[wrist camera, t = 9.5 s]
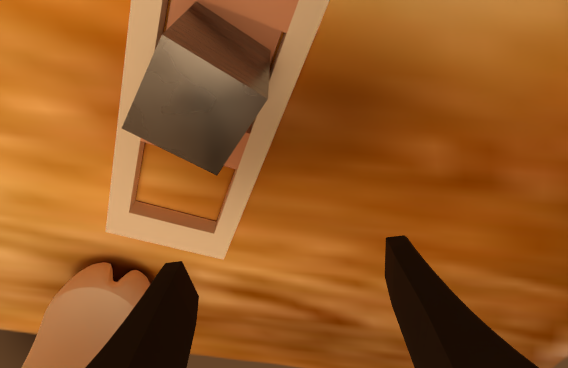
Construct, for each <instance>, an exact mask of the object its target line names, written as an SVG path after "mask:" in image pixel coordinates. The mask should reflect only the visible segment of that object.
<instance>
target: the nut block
mask: <svg viewBox="0 0 568 368" xmlns="http://www.w3.org/2000/svg"><path fill="white" fill-rule="evenodd" d="M269 69H270V50H269V49H268V48H266V47H265V46H263V45H262V44H260V43H259V42H257V41H256V40H254V39H253V38H251V37H250V36H248V35H247V34H245V33H244V32H242V31H241V30H239V29H238V28H236V27H235V26H233V25H232V24H230V23H229V22H227V21H226V20H224V19H223V18H221V17H220V16H218V15H217V14H215V13H213V12H212V11H210V10H209V9H207V8H206V7H204V6H203V5H201V4H200V3H198V2H197V1H196V2H195V3H194V4H193V5H192V6H191V7H190V8H189V9H188V10H187V11H186V12H185V13H184V14H183V15H182V16H180V17H179V18H178V19H177V20H176V21H175V22H174V23H173V24H172V25H171V26H170V27H169V28H168V29H167V30H166V31H165V32H164V33H163V34H162V36H161V38H160V40H159V42H158V45H157V47H156V49H155V52H154V54H153V56H152V59H151V61H150V63H149V66H148V68H147V70H146V73H145V75H144V77H143V80H142V82H141V84H140V87H139V89H138V91H137V93H136V96H135V98H134V100H133V103H132V105H131V107H130V110H129V112H128V114H127V117H126V119H125V121H124V124H123V126H122V129H124V130H126V131H128V132H130V133H132V134H134V135H136V136H138V137H140V138H142V139H144V140H146V141H148V142H150V143H152V144H154V145H156V146H158V147H160V148H162V149H164V150H166V151H168V152H170V153H172V154H174V155H176V156H178V157H181V158H183V159H185V160H187V161H189V162H191V163H193V164H195V165H197V166H199V167H201V168H203V169H205V170H207V171H209V172H211V173H213V174H215V175H218V173H219V172H220V170H221V169H222V167H223V166H224V164H225V163H226V161H227V160H228V158H229V157H230V155H231V154H232V152H233V151H234V149H235V148H236V146H237V145H238V143H239V142H240V140H241V139H242V137H243V136H244V134H245V133H246V131H247V130H248V128H249V127H250V125H251V124H252V122H253V121H254V119H255V118H256V116H257V115H258V113H259V112H260V110H261V109H262V107H263V106H264V104H265V103H266V101H267V100H268V88H269Z"/></svg>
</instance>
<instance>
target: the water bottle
mask: <svg viewBox="0 0 568 368" xmlns="http://www.w3.org/2000/svg"><path fill="white" fill-rule="evenodd" d="M149 286H150V282H149V281H148V278H147V277H146V276H145V275H144V274H143V273H141V272H140V271H138V270H131V271H130V272H128V273H127V274H126V275H124V276H123V277H122V278H121V279H120V280H119V281H118V282H114V281H113V269H112V266H111V264H109V263H106V262H102V263H96V264H92V265H90V266H88V267H86V268H85V269H83V270H81V271H80V272H79V273H77V274H76V275H75V276H73V277H72V278H71V279H70V280H69V281H68V282H67V283H66V284H65V285H64V286H63V287H62V288H61V290H60V291H59V292H58V293H57V294H56V295H55V297H54V298H53V299H52V301H51V303H50V305H49V306H48V308H47V310H46V312H45V314H44V317H43V320H42V323H41V326H40V329H39V331H38V334H37V336H36V339H35V341H34V344H33V346H32V348H31V350H30V352H29V354H28V356H27V358H26V360H25V362H24V364H23V366H22V368H85V367H86V366H87V365H88V364H89V363H90V362H91V361H92V359H93V358H94V357H95V356H96V355H97V354H98V353H99V351H100V350H101V349H102V348H103V347H104V345H105V344H106V343H107V342H108V341H109V339H110V338H111V337H112V335H113V334H114V333H115V332H116V330H117V329H118V328H119V327H120V325H121V324H122V323H123V322H124V320H125V319H126V318H127V316H128V315H129V314H130V312H131V311H132V309H133V308H134V307H135V305H136V304H137V303H138V301H139V300H140V298H141V297H142V296H143V294H144V293H145V291H146V290H147V289H148V287H149Z"/></svg>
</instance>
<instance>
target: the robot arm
mask: <svg viewBox="0 0 568 368" xmlns="http://www.w3.org/2000/svg"><path fill="white" fill-rule="evenodd" d="M385 279H386V283H387V288H388V292H389V296H390V300H391V304H392V307H393V309H394V312H395V315H396V318H397V321H398V323H399V326H400V329H401V332H402V334H403V337H404V340H405V342H406V345H407V348H408V351H409V353H410V356H411V359H412V362H413V364H414V367H415V368H539V367H537V366H536V365H535V364H533V363H532V362H531V361H529V360H528V359H527V358H525V357H524V356H523V355H522V354H520V353H519V352H518V351H516V350H515V349H514V348H513V347H512V346H510V345H509V344H508V343H507V342H506V341H504V340H503V339H502V338H501V337H500V336H498V335H497V334H496V333H495V332H494V331H493V330H492V329H491V328H489V327H488V326H487V325H486V324H485V323H484V322H483V321H482V320H481V319H479V318H478V317H477V316H476V315H475V314H474V313H473V312H472V311H471V310H470V309H469V308H468V307H467V306H466V305H465V304H464V303H463V302H462V301H461V300H460V299H459V298H458V297H457V296H456V295H455V294H454V293H453V292H452V291H451V290H450V289H449V287H448V286H447V285H446V284H445V283H444V282H443V281H442V280H441V279H440V278H439V276H438V275H437V274H436V273H435V272H434V271H433V270H432V269H431V267H430V266H429V265H428V264H427V263H426V261H425V260H424V259H423V258H422V256H421V255H420V254H419V253H418V251H417V250H416V249H415V248H414V246H413V245H412V244H411V242H410V241H409V239H408V238H407V237H406V236H395V237H387V238H386V253H385ZM198 299H199V296H198V294H197V292H196V290H195V288H194V285H193V283H192V281H191V279H190V277H189V275H188V273H187V271H186V269H185V267H184V265H183V263H182V261H180V262H172V263H165V265H164V266H163V267H162V269H161V270H160V271H159V273H158V274H157V276H156V277H155V279H154V280H153V281H152V283H151V284H150V286H149V287H148V289H147V290H146V291H145V293H144V294H143V296H142V297H141V298H140V300H139V301H138V303H137V304H136V305H135V307H134V308H133V309H132V311H131V312H130V314H129V315H128V316H127V318H126V319H125V320H124V322H123V323H122V324H121V325H120V327H119V328H118V329H117V330H116V332H115V333H114V334H113V335H112V337H111V338H110V339H109V341H108V342H107V343H106V344H105V345H104V347H103V348H102V349H101V350H100V351H99V353H98V354H97V355H96V356H95V357H94V358H93V359H92V361H91V362H90V363H89V364H88V365H87V366H86V367H85V368H186V367H187V363H188V358H189V354H190V349H191V345H192V340H193V336H194V331H195V327H196V320H197V310H198Z"/></svg>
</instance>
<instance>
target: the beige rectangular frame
mask: <svg viewBox="0 0 568 368" xmlns="http://www.w3.org/2000/svg"><path fill="white" fill-rule="evenodd" d="M196 1H197V2H198V3H200V4H201V5H203V6H204V7H206V8H207V9H209V10H210V11H212V12H213V13H215V14H217V15H218V16H220V17H221V18H223V19H224V20H226V21H227V22H229V23H230V24H232V25H233V26H235V27H236V28H238V29H239V30H241V31H242V32H244V33H245V34H247V35H248V36H250V37H251V38H253V39H254V40H256V41H257V42H259V43H260V44H262V45H263V46H265V47H266V48H268V49H269V50H270V63H271V60H272V58H273V55H274V52H275V49H276V46H277V44H278V41H279V38H280V35H281V32H284V35H283V37H282V40H281V43H280V46H279V49H278V51H277V54H276V57H275V60H274V63H273V65H272V68H271V71H270V74H269V88H268V100H267V101H266V103H265V104H264V106H263V107H262V109H261V110H260V112H259V113H258V115H257V116H256V118H255V119H254V121H253V122H252V124H251V125H250V127H249V128H248V130H247V131H246V133H245V134H244V136H243V137H242V139H241V140H240V142H239V143H238V145H237V146H236V148H235V149H234V151H233V152H232V154H231V155H230V157H229V158H228V160H227V161H226V163H225V164H224V166H226V167H230V168H233V169H235V172H234V174H233V177H232V180H231V183H230V186H229V188H228V191H227V194H226V197H225V200H224V202H223V205H222V208H221V211H220V213H219V216H218V219H217V222H216V221H212V220H208V219H205V218H201V217H197V216H193V215H189V214H185V213H181V212H177V211H174V210H170V209H166V208H162V207H158V206H154V205H150V204H146V203H143V202H139V201H135V198H136V192H137V186H138V180H139V174H140V168H141V162H142V156H143V150H144V144H145V143H149V144H152V143H150V142H148V141H146V140H144V139H142V138H140V137H138V136H136V135H134V134H132V133H130V132H128V131H126V130H124V129H122V126H123V124H124V121H125V119H126V117H127V114H128V112H129V110H130V107H131V105H132V103H133V100H134V98H135V96H136V93H137V91H138V89H139V87H140V84H141V82H142V80H143V77H144V75H145V73H146V70H147V68H148V66H149V63H150V61H151V59H152V56H153V54H154V52H155V49H156V47H157V45H158V42H159V40H160V38H161V36H162V34H163V30H164V24H165V18H166V12H167V6H168V0H131V7H130V16H129V25H128V34H127V43H126V52H125V61H124V70H123V79H122V88H121V97H120V106H119V115H118V124H117V133H116V142H115V151H114V160H113V169H112V178H111V187H110V196H109V205H108V214H107V223H106V232H108V233H112V234H117V235H121V236H125V237H129V238H134V239H138V240H142V241H146V242H151V243H155V244H159V245H163V246H168V247H172V248H176V249H180V250H185V251H189V252H193V253H197V254H202V255H206V256H210V257H214V258H219V259H223V260H224V257H225V255H226V252H227V250H228V248H229V245H230V243H231V240H232V238H233V235H234V233H235V230H236V228H237V226H238V223H239V221H240V218H241V216H242V213H243V211H244V208H245V206H246V204H247V201H248V199H249V196H250V194H251V191H252V189H253V186H254V184H255V181H256V179H257V177H258V174H259V172H260V169H261V167H262V164H263V162H264V159H265V157H266V155H267V152H268V150H269V147H270V145H271V142H272V140H273V137H274V135H275V132H276V130H277V128H278V125H279V123H280V120H281V118H282V115H283V113H284V110H285V108H286V106H287V103H288V101H289V98H290V96H291V93H292V91H293V88H294V86H295V84H296V81H297V79H298V76H299V74H300V71H301V69H302V66H303V64H304V61H305V59H306V57H307V54H308V52H309V49H310V47H311V44H312V42H313V39H314V37H315V35H316V32H317V30H318V27H319V25H320V22H321V20H322V17H323V15H324V13H325V10H326V8H327V5H328V3H329V0H171V4H170V10H169V15H168V21H167V27H166V30H167V29H168V28H169V27H170V26H171V25H172V24H173V23H174V22H175V21H176V20H177V19H178V18H179V17H180V16H182V15H183V14H184V13H185V12H186V11H187V10H188V9H189V8H190V7H191V6H192V5H193V4H194V3H195V2H196ZM152 145H154V144H152ZM155 146H156V145H155Z"/></svg>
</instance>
